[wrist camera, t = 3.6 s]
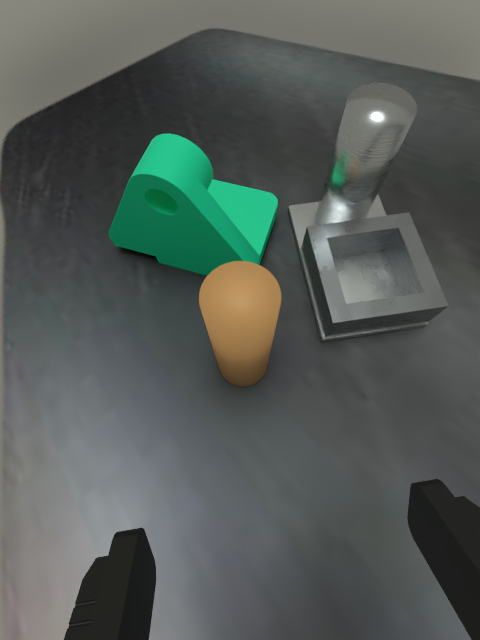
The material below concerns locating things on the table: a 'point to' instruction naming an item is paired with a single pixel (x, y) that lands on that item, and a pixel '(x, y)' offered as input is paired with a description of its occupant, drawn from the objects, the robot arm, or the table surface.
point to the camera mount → (190, 211)
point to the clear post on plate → (365, 229)
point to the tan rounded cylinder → (241, 318)
